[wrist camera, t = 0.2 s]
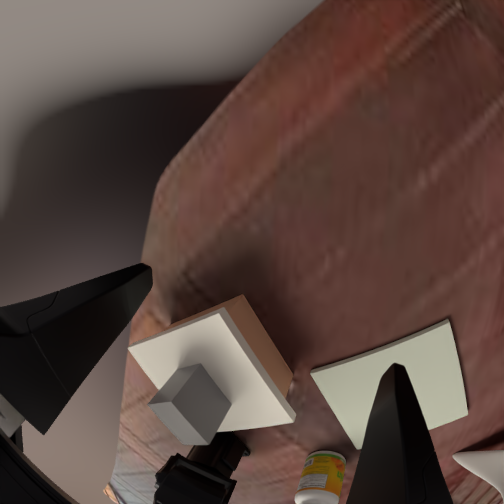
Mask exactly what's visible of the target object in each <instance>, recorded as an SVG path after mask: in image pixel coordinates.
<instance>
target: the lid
mask: <svg viewBox="0 0 504 504" xmlns="http://www.w3.org/2000/svg"><path fill="white" fill-rule="evenodd" d="M128 349H129V351H130V352H131V354H132V355H133V357H134V358H135V359H136V361H137V362H138V363H139V365H140V366H141V368H142V369H143V370H144V372H145V373H146V374H147V376H148V377H149V378H150V379H151V381H152V382H153V383H154V385H155V386H156V387H157V388H158V390H159V391H158V392H157V394H156V395H155V396H154V397H153V398H152V399H151V401H150V402H149V403H148V404H147V405H148V406H149V407H150V408H151V410H152V411H153V412H154V413H155V414H156V415H157V417H158V418H159V419H160V420H161V421H162V422H163V423H164V424H165V426H166V427H167V428H168V429H169V430H170V431H171V432H172V433H173V434H174V435H175V436H176V437H177V439H178V440H179V441H180V442H181V443H182V444H183V445H209V444H210V443H211V441H212V439H213V437H214V436H215V434H216V432H224V431H235V430H245V429H253V428H261V427H268V426H275V425H281V424H287V423H293V422H294V420H295V417H296V413H295V412H294V411H293V409H292V408H291V406H290V405H289V403H288V402H287V401H286V399H285V398H284V396H283V395H282V393H281V392H280V391H279V389H278V388H277V386H276V385H275V383H274V382H273V380H272V379H271V378H270V376H269V375H268V373H267V372H266V370H265V369H264V367H263V366H262V364H261V363H260V361H259V360H258V358H257V357H256V355H255V354H254V352H253V351H252V349H251V348H250V346H249V345H248V343H247V342H246V340H245V339H244V337H243V336H242V334H241V332H240V331H239V329H238V328H237V326H236V325H235V323H234V322H233V320H232V318H231V317H230V315H229V314H228V312H227V311H226V309H225V307H223V308H220V309H218V310H215V311H213V312H210V313H208V314H206V315H203V316H201V317H198V318H196V319H193V320H191V321H188V322H186V323H183V324H181V325H178V326H176V327H173V328H171V329H168V330H166V331H163V332H160V333H158V334H155V335H153V336H150V337H147V338H145V339H142V340H140V341H137V342H134V343H133V344H132V345H130V346H129V347H128Z"/></svg>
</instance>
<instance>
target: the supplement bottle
mask: <svg viewBox="0 0 504 504" xmlns="http://www.w3.org/2000/svg"><path fill="white" fill-rule="evenodd" d="M345 466H346V460H345V458H344V457H343V456H342V455H341V454H339V453H336V452H333V451H317V452H314V453H311V454H310V455H309V456H308V457H307V459H306V461H305V465H304V468H303V472H302V475H301V479H300V482H299V485H298V489H297V492H296V495H295V502H296V504H338V502H339V498H340V493H341V488H342V482H343V477H344V471H345Z"/></svg>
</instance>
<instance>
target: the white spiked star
mask: <svg viewBox="0 0 504 504" xmlns="http://www.w3.org/2000/svg"><path fill="white" fill-rule="evenodd" d="M453 458H454V459H455V460H456V461H457V462H458V463H459V464H460V465H462V466H463V467H465V468H466V469H468V470H469V471H471V472H472V473H474V474H476V475H477V476H479V477H481V478H482V479H484V480H485V481H487V482H488V483H490V484H491V485H493V486H494V487H495V488H496V489H497V490H498V491H499V492H500V493H501V495H502V497H503V504H504V450H494V451H468V452H458V453H455V454H453Z"/></svg>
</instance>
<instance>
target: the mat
mask: <svg viewBox="0 0 504 504" xmlns="http://www.w3.org/2000/svg"><path fill="white" fill-rule="evenodd" d="M393 363H398V364H401V365H404V366H405V368H406V370H407V373H408V375H409V378H410V380H411V383H412V386H413V388H414V391H415V394H416V396H417V399H418V402H419V404H420V407H421V410H422V413H423V416H424V419H425V421H426V424H427V427H428V430H430V429H433V428H436V427H438V426H441V425H444V424H446V423H449V422H452V421H454V420H457V419H459V418H462V417H464V416H466V415H468V411H467V403H466V397H465V391H464V385H463V379H462V374H461V369H460V364H459V359H458V355H457V350H456V346H455V342H454V338H453V334H452V330H451V326H450V322H449V320H448V319H446V320H444V321H442V322H440V323H438V324H435V325H433V326H431V327H429V328H426V329H424V330H422V331H419V332H417V333H415V334H412V335H410V336H407V337H405V338H403V339H400V340H398V341H395V342H392V343H390V344H387V345H385V346H382V347H379V348H377V349H374V350H371V351H368V352H365V353H363V354H360V355H357V356H354V357H351V358H348V359H345V360H342V361H339V362H336V363H333V364H329V365H326V366H323V367H320V368H316V369H313V370H311V373H310V374H311V376H312V378H313V379H314V381H315V382H316V384H317V386H318V387H319V389H320V391H321V392H322V394H323V396H324V397H325V399H326V400H327V402H328V404H329V405H330V407H331V409H332V410H333V412H334V413H335V415H336V417H337V418H338V420H339V422H340V423H341V425H342V426H343V428H344V430H345V431H346V433H347V434H348V436H349V438H350V439H351V441H352V443H353V444H354V446H355V447H356V449H362V445H363V440H364V436H365V431H366V427H367V422H368V418H369V415H370V412H371V409H372V405H373V402H374V399H375V396H376V392H377V389H378V385H379V382H380V379H381V377H382V375H383V374H384V373H385V372H386V370H387V369H388V368H389V367H390V366H391V365H392V364H393Z"/></svg>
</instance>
